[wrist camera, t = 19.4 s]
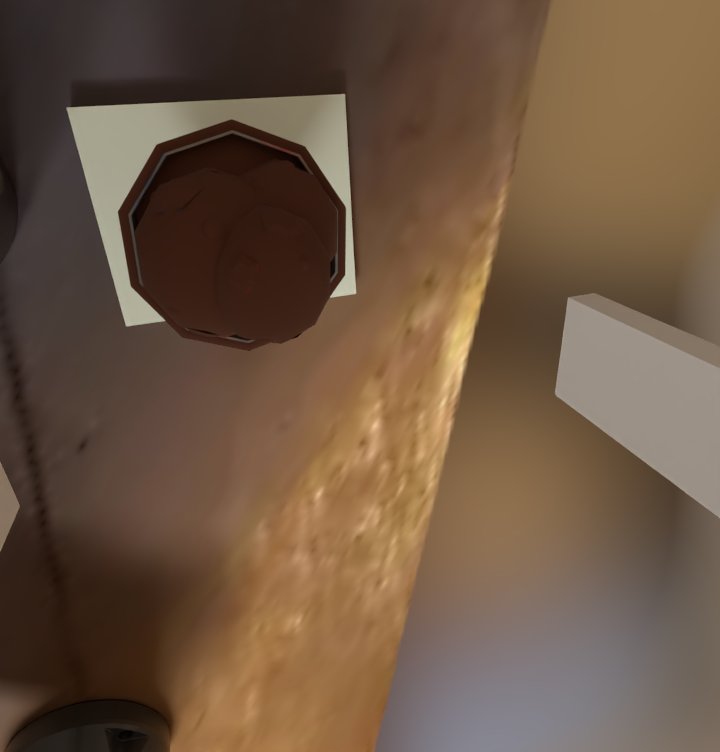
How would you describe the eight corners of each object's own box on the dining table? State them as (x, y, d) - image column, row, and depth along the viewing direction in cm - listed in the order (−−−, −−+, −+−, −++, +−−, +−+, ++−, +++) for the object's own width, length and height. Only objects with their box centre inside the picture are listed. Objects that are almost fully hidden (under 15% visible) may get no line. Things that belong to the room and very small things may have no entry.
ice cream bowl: (307, 121, 33) (385, 123, 20) (310, 293, 37) (375, 385, 25) (124, 116, 30) (76, 114, 17) (153, 303, 35) (133, 413, 22)
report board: (127, 320, 36) (126, 326, 35) (70, 107, 30) (66, 107, 29) (351, 289, 40) (356, 293, 38) (340, 94, 34) (344, 94, 33)
